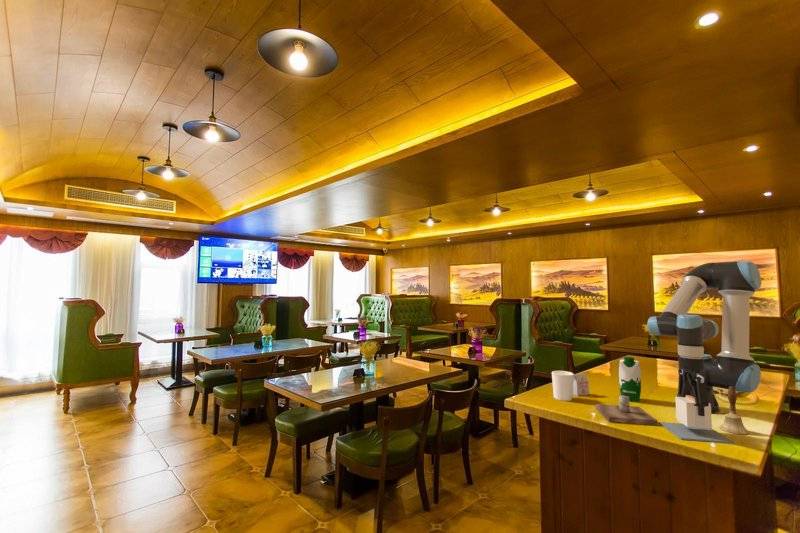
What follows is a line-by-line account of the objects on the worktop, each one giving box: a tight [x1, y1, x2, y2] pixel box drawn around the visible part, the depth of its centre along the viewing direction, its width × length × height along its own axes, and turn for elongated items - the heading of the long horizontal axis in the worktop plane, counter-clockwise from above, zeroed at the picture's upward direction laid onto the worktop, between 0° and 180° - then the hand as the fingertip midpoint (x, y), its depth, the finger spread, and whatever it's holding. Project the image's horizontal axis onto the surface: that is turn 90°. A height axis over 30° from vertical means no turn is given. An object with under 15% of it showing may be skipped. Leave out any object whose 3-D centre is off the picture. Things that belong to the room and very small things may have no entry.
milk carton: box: [618, 356, 642, 403], centre depth 178 cm, size 9×9×20 cm
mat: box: [658, 421, 735, 445], centre depth 136 cm, size 16×16×1 cm
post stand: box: [595, 394, 659, 426], centre depth 153 cm, size 17×17×8 cm
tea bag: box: [573, 373, 590, 397], centre depth 185 cm, size 4×7×10 cm, turn 105°
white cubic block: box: [675, 395, 713, 429], centre depth 136 cm, size 8×8×9 cm
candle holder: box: [551, 370, 574, 402], centre depth 179 cm, size 10×10×12 cm
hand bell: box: [719, 386, 750, 436], centre depth 139 cm, size 8×8×16 cm
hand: (693, 420), depth 136 cm, fingers closed on white cubic block, 8 cm apart
